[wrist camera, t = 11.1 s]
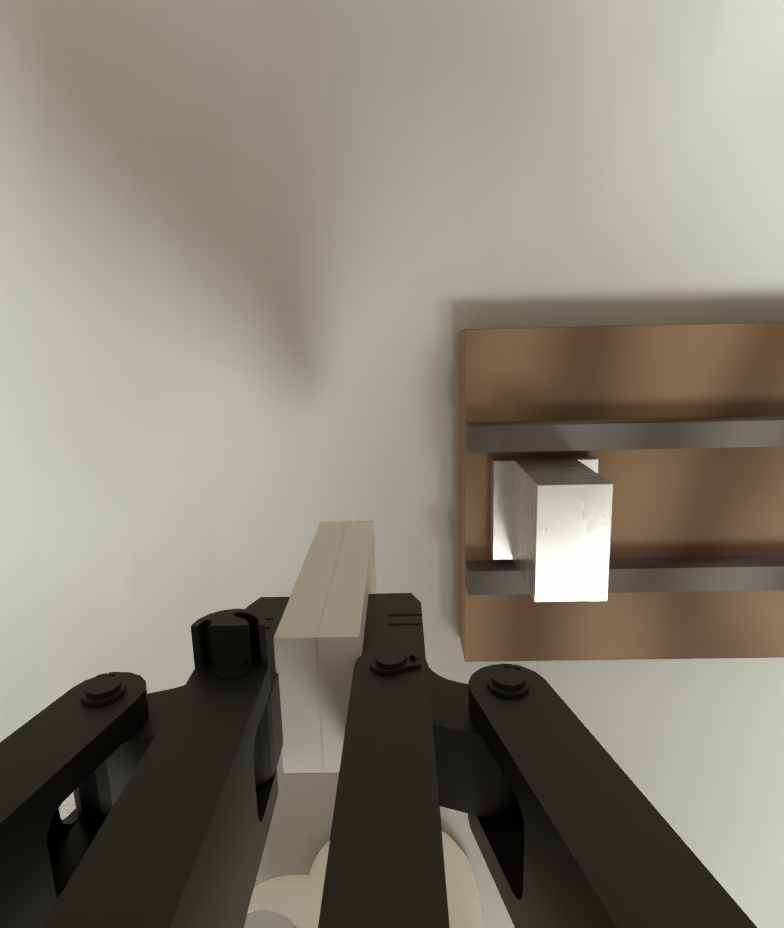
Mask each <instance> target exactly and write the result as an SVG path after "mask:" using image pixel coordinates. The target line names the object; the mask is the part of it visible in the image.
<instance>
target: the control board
mask: <svg viewBox="0 0 784 928" xmlns="http://www.w3.org/2000/svg"><path fill="white" fill-rule="evenodd" d="M542 456H594V457H595V458H597V459H598V474H599V475H600V476H602V477H603V478H605V479H606V480H608V481H609V482H611V483H612V484H613V496H612V515H611V535H610V554H609V573H608V593H607V601H562V602H535V601H534V599H533V597H532V595H531V593H530V591H529V589H528V588H527V586H526V584H525V582H524V580H523V578H522V576H521V574H520V572H519V570H518V568H517V566H516V564H515V562H514V560H513V559H507V560H493V558H492V556H491V554H490V517H491V457H542ZM461 644H462V649H463V654H464V659H465V662H473V661H547V660H620V659H693V658H767V657H784V322H775V323H733V324H690V325H648V326H605V327H563V328H520V329H478V330H461Z"/></svg>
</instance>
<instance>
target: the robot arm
mask: <svg viewBox="0 0 784 928" xmlns="http://www.w3.org/2000/svg"><path fill="white" fill-rule="evenodd" d="M191 633H192V642H193V652H194V662H195V670H194V671H193V673H192V675H191V676H190V678H189V680H188V681H187V683H186V685H184V686H181V687H177V688H174V689H169V690H164V691H159V692H154V693H149V694H147V689H146V681H145V680H144V679H143V678H142V677H141V676H140V675H136V674H133V673H130V672H111V673H109V674H107V673H105V674H101V675H98V676H96V677H94V678H91V679H89V680H86V681H84V682H82V683H80V684H79V685H77V686H75V687H73V688H72V689H70V690H69V691H68V692H66V693H65V694H64V695H62V696H61V697H60V698H58V699H57V700H56V701H55V702H53V703H52V704H51V705H49V706H48V707H47V708H45V709H44V710H43V711H41V712H40V713H39V714H37V715H36V716H35V717H33V718H32V719H31V720H29V721H28V722H27V723H26V724H24V725H23V726H22V727H20V728H19V729H18V730H16V731H15V732H14V733H12V734H11V735H10V736H8V737H7V738H6V739H4V740H3V741H2V742H1V743H0V928H244V924H245V920H246V916H247V912H248V908H249V904H250V900H251V897H252V893H253V889H254V885H255V881H256V877H257V873H258V869H259V865H260V861H261V857H262V854H263V850H264V846H265V842H266V838H267V834H268V830H269V826H270V822H271V818H272V814H273V811H274V807H275V803H276V799H277V795H278V781H277V768H276V767H277V764H278V760H279V757H280V753H281V751H282V765H283V773H333V772H339V778H338V785H337V793H336V800H335V807H334V814H333V822H332V829H331V836H330V844H329V851H328V858H327V865H326V873H325V880H324V887H323V895H322V902H321V909H320V916H319V924H318V928H450V926H449V914H448V902H447V890H446V878H445V866H444V854H443V842H442V830H441V818H440V806H442V807H446V808H450V809H454V810H457V811H461V812H465V813H468V819H469V824H470V828H471V830H472V833H473V835H474V837H475V839H476V841H477V844H478V846H479V848H480V850H481V853H482V855H483V857H484V859H485V861H486V864H487V866H488V868H489V870H490V873H491V875H492V877H493V879H494V882H495V884H496V886H497V888H498V890H499V893H500V895H501V897H502V899H503V902H504V904H505V906H506V908H507V911H508V913H509V915H510V917H511V919H512V922H513V924H514V926H515V928H757V927H756V926H755V924H754V923H753V922H752V921H751V920H750V919H749V917H748V916H747V915H746V914H745V913H744V912H743V910H742V909H741V908H740V907H739V906H738V905H737V903H736V902H735V901H734V900H733V899H732V898H731V896H730V895H729V894H728V893H727V892H726V891H725V889H724V888H723V887H722V886H721V885H720V884H719V882H718V881H717V880H716V879H715V878H714V877H713V875H712V874H711V873H710V872H709V871H708V870H707V868H706V867H705V866H704V865H703V864H702V863H701V861H700V860H699V859H698V858H697V857H696V855H695V854H694V853H693V852H692V851H691V850H690V848H689V847H688V846H687V845H686V844H685V843H684V841H683V840H682V839H681V838H680V837H679V836H678V834H677V833H676V832H675V831H674V830H673V829H672V827H671V826H670V825H669V824H668V823H667V822H666V820H665V819H664V818H663V817H662V816H661V815H660V813H659V812H658V811H657V810H656V809H655V808H654V806H653V805H652V804H651V803H650V802H649V801H648V799H647V798H646V797H645V796H644V795H643V794H642V792H641V791H640V790H639V789H638V788H637V787H636V785H635V784H634V783H633V782H632V781H631V780H630V778H629V777H628V776H627V775H626V774H625V773H624V771H623V770H622V769H621V768H620V767H619V766H618V764H617V763H616V762H615V761H614V760H613V759H612V757H611V756H610V755H609V754H608V753H607V752H606V750H605V749H604V748H603V747H602V746H601V744H600V743H599V742H598V741H597V740H596V739H595V737H594V736H593V735H592V734H591V733H590V732H589V730H588V729H587V728H586V727H585V726H584V725H583V723H582V722H581V721H580V720H579V719H578V718H577V716H576V715H575V714H574V713H573V712H572V711H571V709H570V708H569V707H568V706H567V705H566V704H565V702H564V701H563V700H562V699H561V698H560V697H559V695H558V694H557V693H556V692H555V691H554V690H553V688H552V687H551V686H550V685H549V684H548V683H547V681H546V680H545V679H544V678H542V677H541V676H540V675H539V674H537V673H536V672H534V671H532V670H529V669H527V668H524V667H522V666H518V665H512V664H498V665H490V666H487V667H483V668H480V669H479V670H478V671H476V672H475V673H473V674H472V676H471V678H470V680H469V684H464V683H458V682H455V681H451V680H447V679H445V678H443V677H441V676H439V675H437V674H436V673H434V672H433V671H432V670H431V669H430V668H429V667H428V664H427V661H426V659H425V647H424V635H423V623H422V611H421V602H420V601H419V600H418V599H417V598H416V597H414V596H413V595H412V594H411V593H393V594H376V578H375V545H374V521H354V522H320V524H319V527H318V529H317V532H316V534H315V537H314V539H313V542H312V544H311V547H310V549H309V552H308V554H307V557H306V559H305V561H304V564H303V566H302V569H301V571H300V574H299V576H298V579H297V581H296V584H295V586H294V589H293V591H292V594H291V596H290V597H261V598H259V599H258V600H257V601H255V602H254V603H252V604H251V605H249V606H248V607H247V608H246V609H231V610H223V611H219V612H215V613H211V614H209V615H207V616H204V617H202V618H200V619H198V620H197V621H196V622H195V623H194V624H193V625H192V626H191ZM72 792H74V798H75V804H76V809H75V810H74V811H73V812H72V813H71V814H70V815H69V816H68V817H66V818H65V819H64V820H61V818H60V814H59V806H60V805H61V804H62V802H63V801H64V800H65V799H66V798H67V797H68V796H69V795H70V794H71V793H72Z"/></svg>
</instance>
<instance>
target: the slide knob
mask: <svg viewBox="0 0 784 928" xmlns="http://www.w3.org/2000/svg"><path fill="white" fill-rule="evenodd" d="M612 496H613V484H612V483H611V482H609V481H608V480H606V479H605V478H603V477H602V476H600V475H599V474H598V459H597V458H595V457H594V456H542V457H491V517H490V554H491V556H492V558H493V560H507V559H513V560H514V562H515V564H516V566H517V568H518V570H519V572H520V574H521V576H522V578H523V580H524V582H525V584H526V586H527V588H528V589H529V591H530V593H531V595H532V597H533V599H534V601H535V602H562V601H607V593H608V573H609V554H610V535H611V515H612Z"/></svg>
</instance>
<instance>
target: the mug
mask: <svg viewBox="0 0 784 928" xmlns="http://www.w3.org/2000/svg"><path fill="white" fill-rule="evenodd" d="M442 842H443V854H444V866H445V878H446V890H447V902H448V914H449V926H450V928H484V927H483V920H482V913H481V906H480V900H479V893H478V888H477V883H476V879H475V876H474V873H473V870H472V868H471V865H470V863H469V861H468V859H467V857H466V855H465V854H464V853H463V851H462V850H461V848H460V847H459V846H458V845H457V844H456V843H455V842H454V841H453V839H452V838H450V837H449V836H448V835H447V834H446V833H445V832H443V831H442ZM329 844H330V840H329V841H328V842H327V843H326V844H325V845H324V847H323V848H322V849H321V850H320V852H319V853H318V855H317V856H316V858H315V860H314V862H313V865H312V867H311V869H310V871H309V875H285V876H280V877H275V878H272V879H269V880H266V881H264V882H262V883H260V884H258V885H256V886H255V887H254V889H253V893H252V897H251V900H250V904H249V908H248V912H247V914H249V913H252V912H255V911H258V910H269V911H273V912H276V913H278V914H280V915H282V916H284V917H285V918H287V919H288V920H289V921H291V922H292V923H293V924H294V925H295V926H296V927H297V928H318V924H319V916H320V909H321V902H322V895H323V887H324V880H325V873H326V865H327V858H328V851H329Z"/></svg>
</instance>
